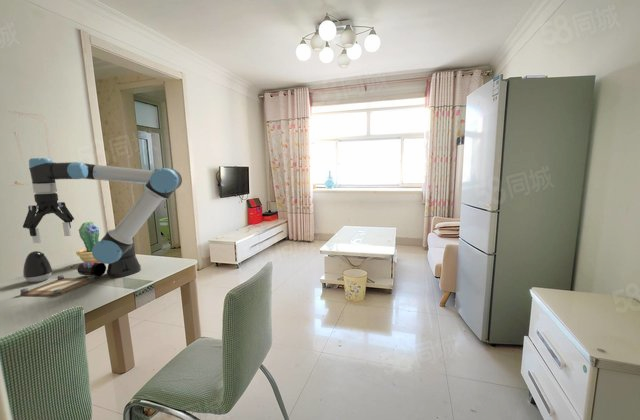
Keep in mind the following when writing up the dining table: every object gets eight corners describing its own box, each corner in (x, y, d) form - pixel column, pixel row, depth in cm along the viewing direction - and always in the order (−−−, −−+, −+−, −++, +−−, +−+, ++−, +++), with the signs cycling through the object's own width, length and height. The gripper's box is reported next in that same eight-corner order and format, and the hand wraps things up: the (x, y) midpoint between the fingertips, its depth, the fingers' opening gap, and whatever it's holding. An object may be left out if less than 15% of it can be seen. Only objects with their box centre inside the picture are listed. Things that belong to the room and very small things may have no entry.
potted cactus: (73, 268, 157) (67, 225, 153) (81, 261, 170) (76, 221, 167) (107, 264, 164) (102, 222, 160) (112, 257, 177) (107, 218, 174)
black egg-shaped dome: (35, 285, 134) (30, 254, 132) (19, 283, 136) (13, 253, 134) (58, 277, 144) (54, 248, 142) (43, 276, 146) (38, 248, 144)
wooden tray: (95, 280, 139) (94, 275, 138) (57, 296, 120) (56, 291, 120) (61, 279, 140) (60, 275, 140) (19, 296, 122) (18, 290, 122)
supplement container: (91, 263, 149) (108, 264, 147) (86, 276, 146) (102, 277, 144) (80, 260, 143) (97, 261, 141) (74, 273, 140) (91, 274, 138)
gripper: (65, 191, 137) (71, 233, 140) (4, 195, 112) (14, 246, 115) (79, 190, 136) (85, 233, 139) (21, 195, 112) (30, 246, 114)
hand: (53, 239), depth 127 cm, fingers open, 13 cm apart
